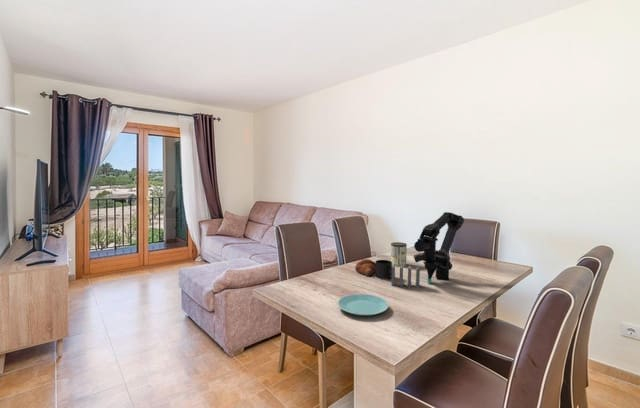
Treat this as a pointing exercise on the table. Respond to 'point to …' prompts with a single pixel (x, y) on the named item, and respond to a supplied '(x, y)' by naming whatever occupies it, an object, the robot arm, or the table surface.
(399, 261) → the coffee can
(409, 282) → the domino
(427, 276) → the domino
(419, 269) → the domino
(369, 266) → the pastry
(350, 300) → the plate
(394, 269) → the domino
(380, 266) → the mug
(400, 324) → the table surface
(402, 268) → the domino
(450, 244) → the robot arm
